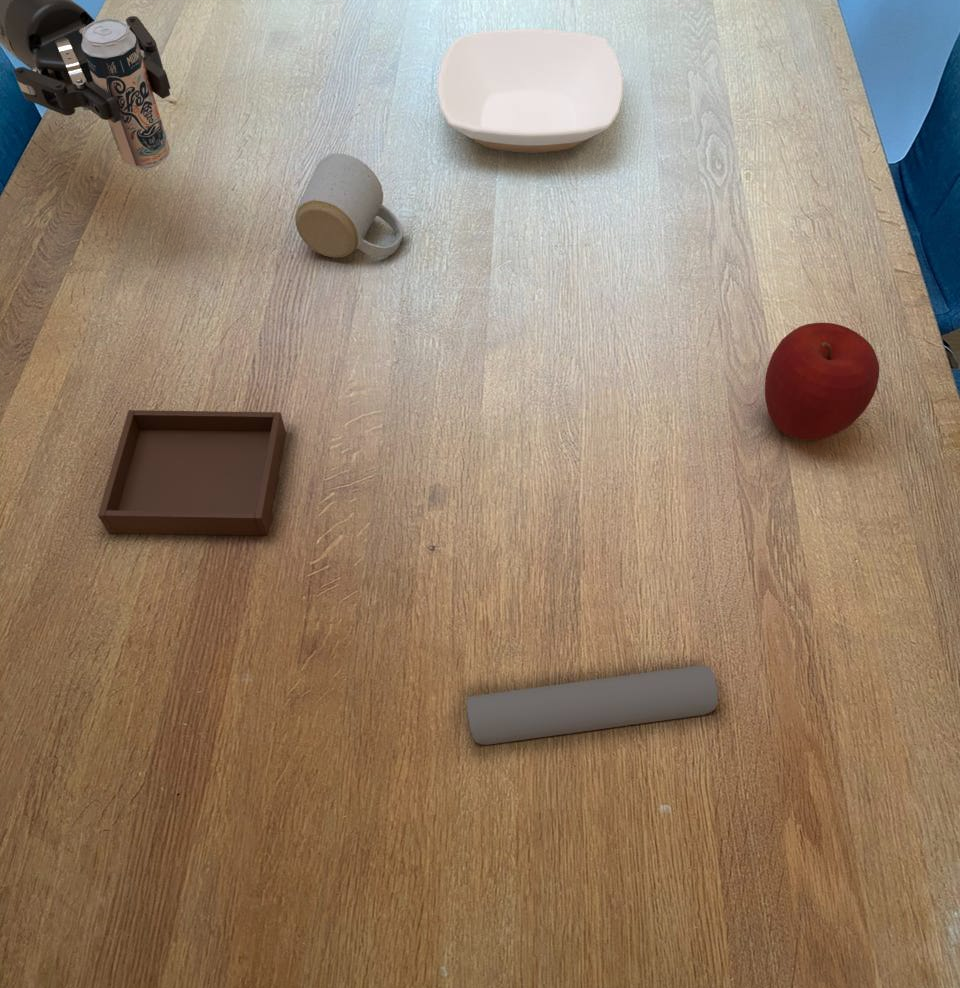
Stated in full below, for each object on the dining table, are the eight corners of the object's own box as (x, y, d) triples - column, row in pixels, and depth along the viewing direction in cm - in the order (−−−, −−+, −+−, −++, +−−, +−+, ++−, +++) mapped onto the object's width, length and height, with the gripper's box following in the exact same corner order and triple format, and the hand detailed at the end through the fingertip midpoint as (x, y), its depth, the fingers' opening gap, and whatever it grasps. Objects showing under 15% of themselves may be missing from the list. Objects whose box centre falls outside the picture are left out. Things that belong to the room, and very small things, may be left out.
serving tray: (108, 533, 83) (97, 515, 81) (137, 429, 89) (128, 409, 87) (267, 536, 83) (261, 518, 81) (285, 431, 89) (280, 412, 87)
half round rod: (718, 713, 74) (723, 703, 72) (471, 747, 72) (471, 738, 71) (703, 666, 76) (708, 655, 74) (464, 698, 75) (463, 688, 73)
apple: (823, 377, 92) (857, 294, 83) (873, 448, 87) (915, 368, 79) (735, 399, 91) (760, 317, 82) (780, 473, 86) (813, 394, 77)
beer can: (149, 178, 92) (106, 51, 81) (112, 162, 93) (65, 35, 82) (181, 152, 94) (143, 25, 83) (145, 137, 95) (103, 10, 84)
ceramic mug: (296, 257, 102) (284, 193, 95) (322, 210, 106) (312, 145, 99) (390, 274, 100) (384, 210, 94) (412, 226, 104) (408, 162, 98)
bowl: (444, 70, 120) (442, 27, 115) (615, 72, 119) (620, 29, 114) (433, 176, 109) (431, 132, 104) (621, 179, 108) (627, 135, 103)
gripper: (115, 38, 98) (213, 106, 92) (-7, 95, 93) (88, 171, 87) (89, -42, 92) (193, 26, 85) (-44, 14, 87) (56, 90, 80)
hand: (139, 99), depth 86 cm, fingers closed on beer can, 4 cm apart
